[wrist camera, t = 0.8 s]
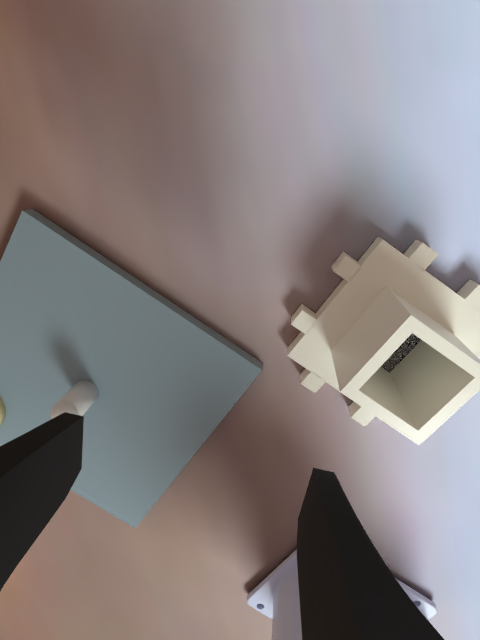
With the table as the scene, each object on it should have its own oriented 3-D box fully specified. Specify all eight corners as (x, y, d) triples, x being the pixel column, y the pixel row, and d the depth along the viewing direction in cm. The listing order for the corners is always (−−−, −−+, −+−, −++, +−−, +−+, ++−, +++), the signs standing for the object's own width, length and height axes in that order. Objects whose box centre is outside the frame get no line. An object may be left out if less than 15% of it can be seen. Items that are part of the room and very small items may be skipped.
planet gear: (522, 317, 19) (596, 364, 14) (395, 438, 22) (422, 509, 17) (376, 209, 18) (405, 222, 14) (264, 350, 21) (257, 400, 17)
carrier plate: (263, 363, 21) (257, 399, 18) (139, 518, 26) (116, 570, 23) (32, 208, 20) (-22, 216, 17) (-54, 402, 25) (-109, 439, 21)
